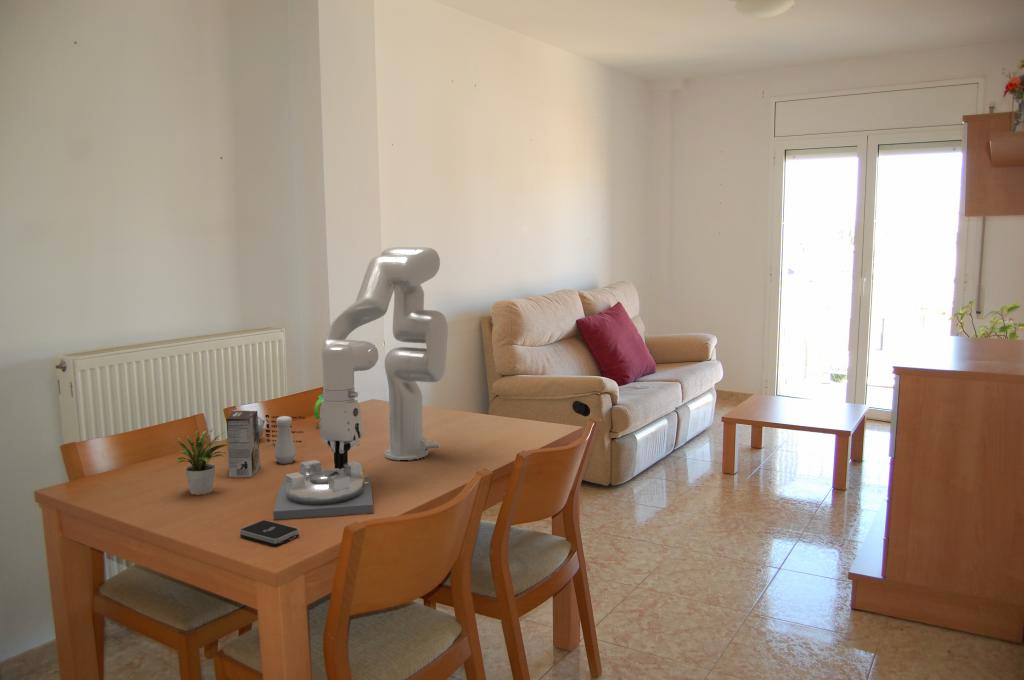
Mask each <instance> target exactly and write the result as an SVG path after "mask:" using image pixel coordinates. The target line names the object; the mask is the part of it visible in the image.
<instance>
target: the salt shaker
mask: <svg viewBox="0 0 1024 680" xmlns="http://www.w3.org/2000/svg"><path fill="white" fill-rule="evenodd" d="M280 416H281V417H280ZM280 416H278V417H276V418H275V419H276V420H275V421H276V423H275V426H276V425H277V428H278V429H277V434H276V435H277V436H276V443H275V450H274V457H275V459H276V460H277V462H278V463H279V465H288V464H292V463H293V462H294V460H295V457H296V453H297V452H296V447H295V441H294V438H293V433H292V432H291V431H292V428H290V426H292V424H293V418H292V416H289V415H288V416H287V415H280ZM278 426H279V427H278Z"/></svg>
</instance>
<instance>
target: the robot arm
mask: <svg viewBox="0 0 1024 680" xmlns="http://www.w3.org/2000/svg"><path fill="white" fill-rule="evenodd" d="M440 258H441V257H440V255H439V253H438V252H437V250H435V249H434V248H433V247H432V248H431V247H422V246H421V247H419V246H418V247H411V246H410V247H408V246H397V247H388V248H386V249H384V250H382V252H381V254H380V255H377V256H375V257H373V258H371V260H370V261H369V263H368V265H367V268H366V270H365V273H364V276H363V279H362V283H361V285H360V288H359V290H358V293H357V295H356V298H355V301H354V302H353V303H352V304H351V305H350V306H348V307H346V308H345V310H343V311H342V312H341V313H340V314H339V315H338V316H337V317H336V318H335V319H334V320H333V321H332V322H331V324H330V326H329V328H328V330H327V333H326V335H325V338H324V341H323V344H322V348H321V360H322V362H321V363H322V365H321V366H322V389H323V390H322V394H323V399H324V400H322V402H321V406H320V407H319V416H320V418H319V419H318V420H319V422H318V423H319V424H318V425H319V435H320V436H319V437H320V438H321V440H320V441H321V442H322V443H324V444H326V445H328V446H329V448H330V450H331V453H333V464H334V469H343V463H346V462H349V457H348V455H349V453H348V452H349V451H350V449H351V448H355V447H357V446H360V444H361V442H360V439H361V438H362V437H363V422H362V415H361V408H360V403H359V401H358V399H356V398H358V396H359V392H358V391H355V372H363V371H368V370H371V369H372V368H374V367H375V366H376V364H377V363H378V361H379V350H378V348H377V347H376V345H375V344H374V343H372V342H370V341H365V340H353V339H347V338H348V336H349V335H350V334H351V333H353V332H354V331H355V330H356V329H358V328H360V327H361V326H363V325H366V324H369V323H371V322H375V321H376V320H378V319H381V318H382V317H384V316H385V315H386V314H387V312H388V309H389V306H390V303H391V300H392V297H393V295H394V297H393V298H394V299H393V314H392V315H393V316H392V335H393V338H394V339H395V340H396V341H399V342H402V343H408V344H409V343H411V344H412V343H413V344H425V345H426V347H425V348H424V347H408V346H398V347H394V348H392V349H390V350H389V351H388V352H387V353H386V355H385V357H384V369H385V373H386V374H385V375H386V380H387V384H388V385H387V387H388V412H389V413H388V415H389V418H388V419H389V448H388V449H386V450H385V451H384V457H386V459H388V460H393V461H400V460H408V461H414V460H413V459H417V460H420V459H419V458H421V459H423V458H422V457H424V456H426V455H427V456H429V449H433V450H434V449H439V448H440V442H439V441H435V440H425V438H424V436H423V435H424V434H423V433H424V429H423V427H424V425H423V421H424V420H423V417H424V416H423V395H422V393H423V392H422V390H421V388H420V386H419V385H418V383H417V382H422V383H437V382H440V381H441V380H442V379H443V377H444V375H445V373H446V365H447V350H448V337H449V336H448V334H449V331H448V330H449V329H448V327H449V326H448V325H449V324H448V322H447V318H446V316H445V315H444V314H443V313H442V312H441V311H439V310H432V309H431V310H429V309H425V307H424V306H425V304H424V303H425V292H424V288H423V287H422V285H423V284H424V283H425V282H427V281H429V280H432V279H433V278H435V276H436V275H437V274H438V273H439V270H440V267H441V259H440ZM427 456H426V457H427ZM424 458H425V457H424Z"/></svg>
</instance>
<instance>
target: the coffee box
mask: <svg viewBox="0 0 1024 680" xmlns="http://www.w3.org/2000/svg"><path fill="white" fill-rule="evenodd" d="M258 416H259V415H258V410H239V411H234V412H233V413H232V414H231V413H230V415H228V416H227V418H226V436H227V437H226V441H227V444H232V445H227V456H228V457H227V459H228V460H227V461H228V476H229V477H228V478H252V477H254V476H255V475H256V474H257V472H258V471H259V469H260V468H261V457H260V439H259V432H258Z"/></svg>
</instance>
